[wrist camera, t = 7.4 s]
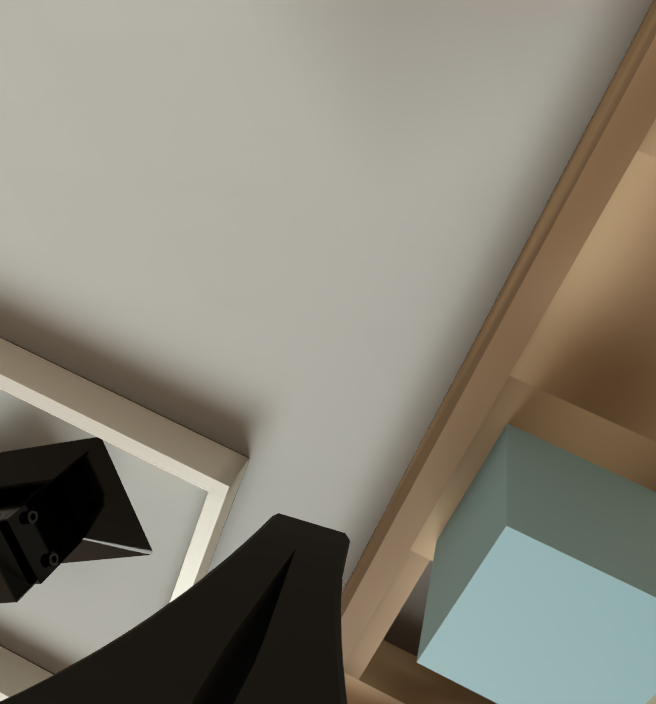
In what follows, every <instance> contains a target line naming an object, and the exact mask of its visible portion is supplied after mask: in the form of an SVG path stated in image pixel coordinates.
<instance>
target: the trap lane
mask: <svg viewBox="0 0 656 704" xmlns="http://www.w3.org/2000/svg"><path fill="white" fill-rule="evenodd" d="M507 423H508V424H510V425H512V426H514V427H516V428H519V429H521V430H523V431H525V432H527V433H529V434H531V435H534V436H536V437H538V438H540V439H542V440H544V441H547V442H549V443H551V444H553V445H555V446H557V447H559V448H562V449H564V450H566V451H568V452H570V453H572V454H574V455H577V456H579V457H581V458H583V459H585V460H587V461H590V462H592V463H594V464H596V465H598V466H600V467H602V468H605V469H607V470H609V471H611V472H613V473H615V474H618V475H620V476H622V477H624V478H626V479H628V480H630V481H633V482H635V483H637V484H639V485H641V486H643V487H646V488H648V489H650V490H652V491H654V492H656V0H654V1H653V3H652V5H651V7H650V9H649V11H648V13H647V14H646V16H645V18H644V20H643V22H642V24H641V26H640V28H639V30H638V32H637V33H636V35H635V37H634V39H633V41H632V43H631V45H630V47H629V49H628V51H627V52H626V54H625V56H624V58H623V60H622V62H621V64H620V66H619V68H618V70H617V71H616V73H615V75H614V77H613V79H612V81H611V83H610V85H609V87H608V89H607V90H606V92H605V94H604V96H603V98H602V100H601V102H600V104H599V106H598V108H597V109H596V111H595V113H594V115H593V117H592V119H591V121H590V123H589V125H588V127H587V128H586V130H585V132H584V134H583V136H582V138H581V140H580V142H579V144H578V146H577V147H576V149H575V151H574V153H573V155H572V157H571V159H570V161H569V163H568V165H567V166H566V168H565V170H564V172H563V174H562V176H561V178H560V180H559V182H558V184H557V185H556V187H555V189H554V191H553V193H552V195H551V197H550V199H549V201H548V203H547V205H546V206H545V208H544V210H543V212H542V214H541V216H540V218H539V220H538V222H537V224H536V225H535V227H534V229H533V231H532V233H531V235H530V237H529V239H528V241H527V243H526V244H525V246H524V248H523V250H522V252H521V254H520V256H519V258H518V260H517V262H516V263H515V265H514V267H513V269H512V271H511V273H510V275H509V277H508V279H507V281H506V282H505V284H504V286H503V288H502V290H501V292H500V294H499V296H498V298H497V300H496V301H495V303H494V305H493V307H492V309H491V311H490V313H489V315H488V317H487V319H486V320H485V322H484V324H483V326H482V328H481V330H480V332H479V334H478V336H477V338H476V339H475V341H474V343H473V345H472V347H471V349H470V351H469V353H468V355H467V357H466V358H465V360H464V362H463V364H462V366H461V368H460V370H459V372H458V374H457V376H456V377H455V379H454V381H453V383H452V385H451V387H450V389H449V391H448V393H447V395H446V396H445V398H444V400H443V402H442V404H441V406H440V408H439V410H438V412H437V414H436V415H435V417H434V419H433V421H432V423H431V425H430V427H429V429H428V431H427V433H426V434H425V436H424V438H423V440H422V442H421V444H420V446H419V448H418V450H417V452H416V453H415V455H414V457H413V459H412V461H411V463H410V465H409V467H408V469H407V471H406V473H405V474H404V476H403V478H402V480H401V482H400V484H399V486H398V488H397V490H396V492H395V493H394V495H393V497H392V499H391V501H390V503H389V505H388V507H387V509H386V511H385V512H384V514H383V516H382V518H381V520H380V522H379V524H378V526H377V528H376V530H375V531H374V533H373V535H372V537H371V539H370V541H369V543H368V545H367V547H366V549H365V550H364V552H363V554H362V556H361V558H360V560H359V562H358V564H357V566H356V568H355V569H354V571H353V573H352V575H351V577H350V579H349V581H348V583H347V585H346V587H345V588H344V590H343V592H342V594H341V628H342V652H343V665H344V676H345V687H346V696H347V704H497V703H495V702H493V701H491V700H489V699H487V698H485V697H484V696H482V695H480V694H478V693H476V692H474V691H472V690H470V689H468V688H466V687H464V686H462V685H460V684H458V683H456V682H454V681H452V680H450V679H448V678H446V677H444V676H442V675H440V674H438V673H436V672H434V671H432V670H430V669H428V668H427V667H425V666H423V665H421V664H419V663H417V656H418V650H419V644H420V638H421V632H422V626H423V620H424V614H425V608H426V602H427V595H428V589H429V583H430V577H431V571H432V565H433V559H434V553H435V547H436V541H437V539H438V538H439V536H440V534H441V533H442V531H443V529H444V528H445V526H446V524H447V523H448V521H449V519H450V518H451V516H452V514H453V513H454V511H455V509H456V508H457V506H458V504H459V503H460V501H461V499H462V498H463V496H464V494H465V493H466V491H467V489H468V488H469V486H470V484H471V483H472V481H473V479H474V478H475V476H476V474H477V473H478V471H479V469H480V468H481V466H482V464H483V462H484V461H485V459H486V457H487V456H488V454H489V452H490V451H491V449H492V447H493V446H494V444H495V442H496V441H497V439H498V437H499V436H500V434H501V432H502V431H503V429H504V427H505V426H506V424H507ZM646 704H656V694H655V695H654V696H653V697H652V698H651V699H650V700H649V701H648V702H647V703H646Z"/></svg>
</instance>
